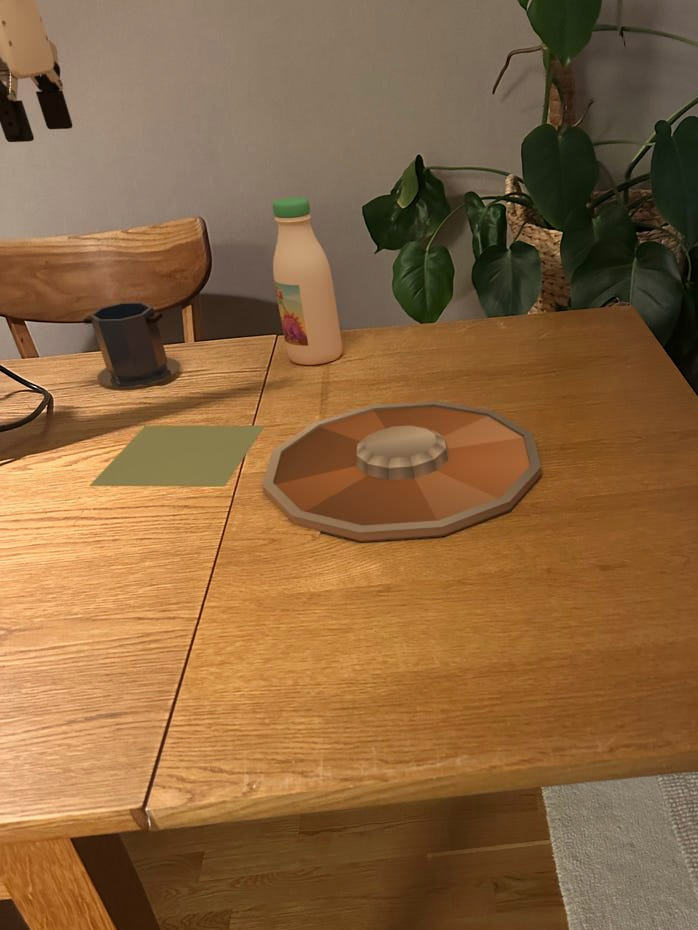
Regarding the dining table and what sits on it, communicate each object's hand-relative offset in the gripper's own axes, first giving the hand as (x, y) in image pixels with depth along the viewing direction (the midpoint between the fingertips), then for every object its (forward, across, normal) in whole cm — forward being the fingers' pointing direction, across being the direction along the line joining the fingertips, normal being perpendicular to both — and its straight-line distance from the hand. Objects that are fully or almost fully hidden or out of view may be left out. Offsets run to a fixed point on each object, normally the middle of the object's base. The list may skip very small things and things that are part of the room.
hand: (41, 134), depth 102 cm
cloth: (+28, +29, +21) cm, 46 cm away
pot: (+28, +5, +6) cm, 29 cm away
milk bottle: (+28, -2, +29) cm, 41 cm away
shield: (+28, +32, +47) cm, 64 cm away
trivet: (+28, +5, +6) cm, 29 cm away
